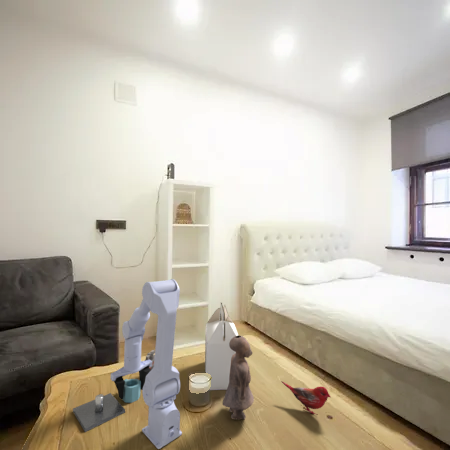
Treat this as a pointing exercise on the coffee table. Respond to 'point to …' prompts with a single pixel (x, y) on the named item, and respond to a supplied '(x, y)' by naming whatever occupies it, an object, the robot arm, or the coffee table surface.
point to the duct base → (98, 411)
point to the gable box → (219, 348)
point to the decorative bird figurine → (310, 396)
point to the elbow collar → (131, 390)
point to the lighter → (151, 358)
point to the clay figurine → (239, 379)
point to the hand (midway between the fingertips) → (131, 393)
